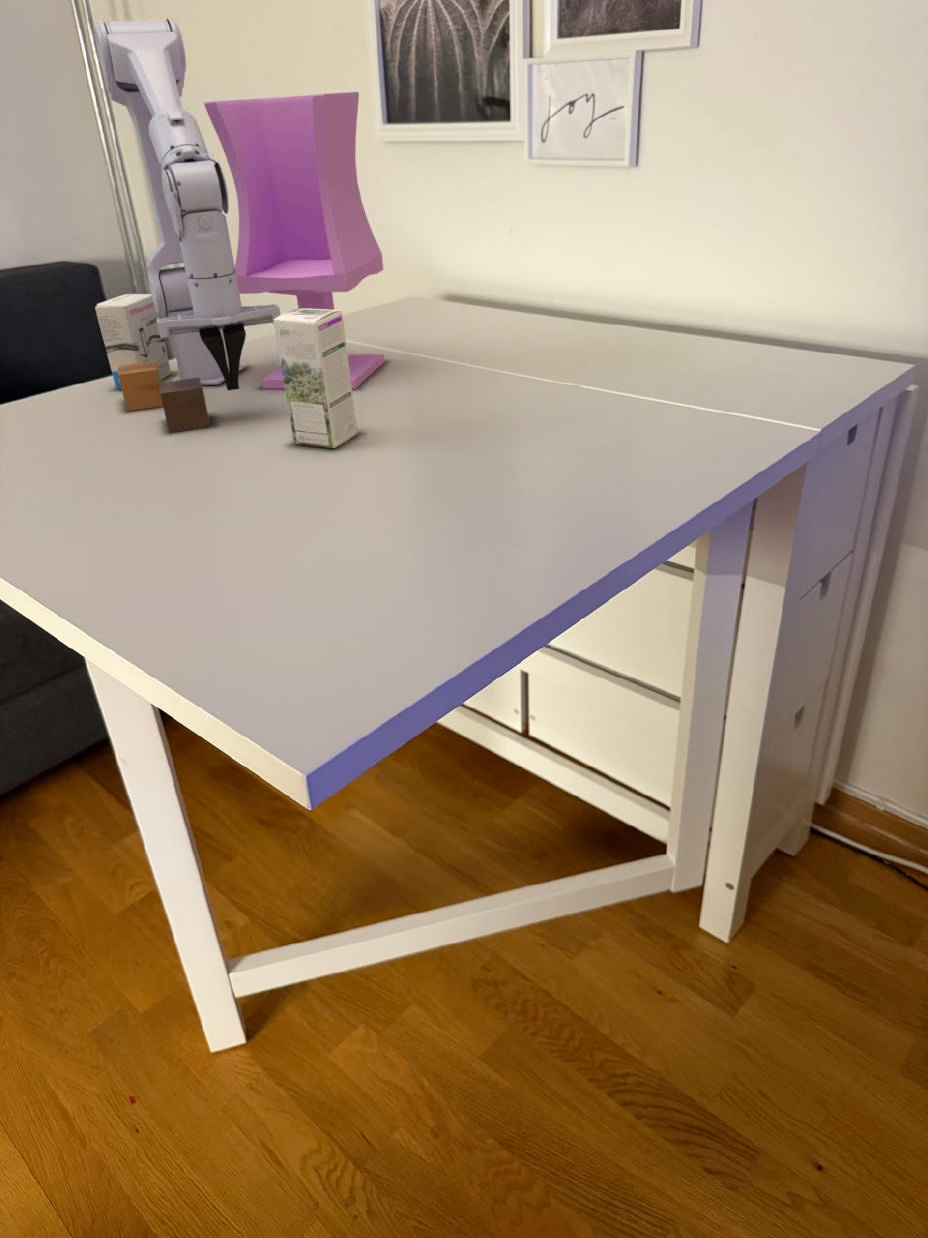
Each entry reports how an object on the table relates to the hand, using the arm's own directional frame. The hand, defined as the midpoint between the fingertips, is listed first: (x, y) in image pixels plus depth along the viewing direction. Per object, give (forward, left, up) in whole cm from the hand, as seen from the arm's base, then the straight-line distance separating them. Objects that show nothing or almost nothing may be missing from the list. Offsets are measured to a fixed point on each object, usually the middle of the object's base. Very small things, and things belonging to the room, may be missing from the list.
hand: (232, 387), depth 113 cm
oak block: (-5, -16, -4) cm, 17 cm away
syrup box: (+8, +15, -4) cm, 17 cm away
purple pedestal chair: (-19, +5, -4) cm, 20 cm away
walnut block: (+3, -5, -4) cm, 7 cm away
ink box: (-15, -22, -4) cm, 27 cm away
